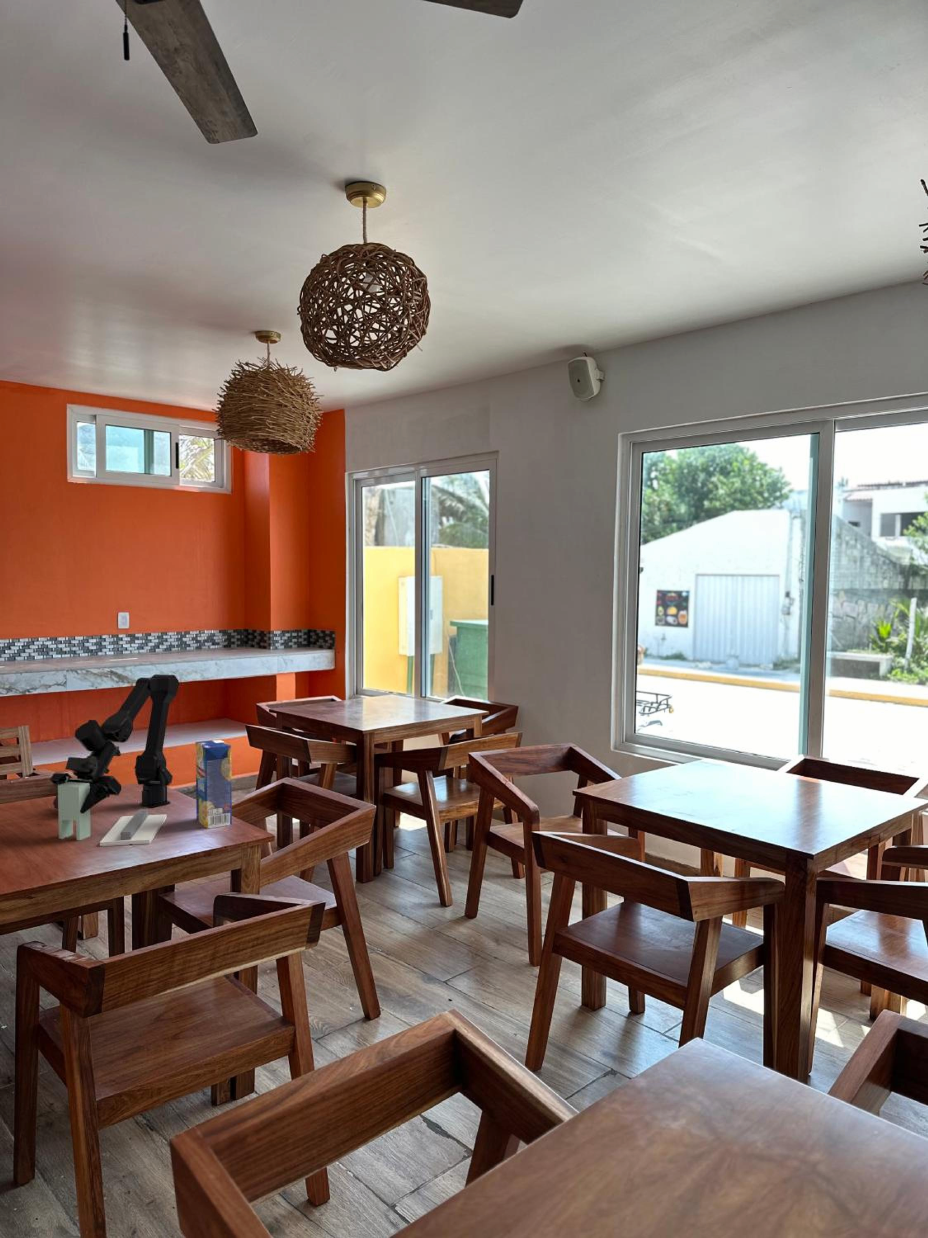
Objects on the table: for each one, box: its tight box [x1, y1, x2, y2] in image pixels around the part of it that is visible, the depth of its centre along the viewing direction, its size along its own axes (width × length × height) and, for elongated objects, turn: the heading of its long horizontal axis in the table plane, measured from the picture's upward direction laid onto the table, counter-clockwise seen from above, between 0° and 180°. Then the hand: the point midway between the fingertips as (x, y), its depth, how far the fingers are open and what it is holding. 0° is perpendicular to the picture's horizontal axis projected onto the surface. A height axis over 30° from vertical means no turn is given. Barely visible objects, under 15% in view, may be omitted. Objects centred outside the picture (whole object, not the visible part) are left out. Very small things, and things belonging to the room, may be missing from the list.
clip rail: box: [99, 808, 167, 847], centre depth 221 cm, size 24×12×3 cm, turn 10°
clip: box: [57, 782, 91, 841], centre depth 216 cm, size 4×6×14 cm, turn 75°
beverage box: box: [195, 739, 233, 829], centre depth 230 cm, size 7×11×22 cm, turn 32°
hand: (70, 811), depth 214 cm, fingers closed on clip, 6 cm apart
